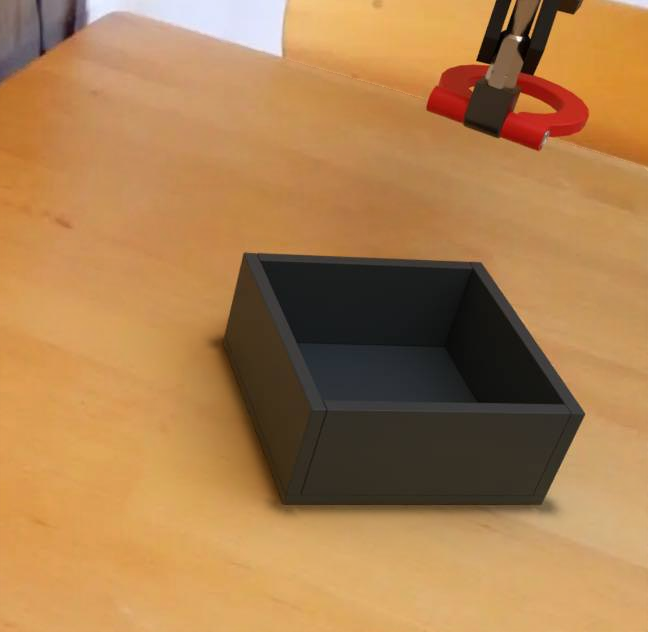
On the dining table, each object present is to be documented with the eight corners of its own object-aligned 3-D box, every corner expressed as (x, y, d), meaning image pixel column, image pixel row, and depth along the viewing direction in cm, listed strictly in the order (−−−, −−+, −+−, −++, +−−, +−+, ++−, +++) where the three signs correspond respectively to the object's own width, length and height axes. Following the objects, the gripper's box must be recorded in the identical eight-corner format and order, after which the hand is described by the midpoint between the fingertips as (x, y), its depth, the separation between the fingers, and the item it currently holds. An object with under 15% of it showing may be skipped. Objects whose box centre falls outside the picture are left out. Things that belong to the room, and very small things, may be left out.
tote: (448, 348, 78) (481, 261, 74) (542, 504, 67) (586, 413, 63) (222, 342, 75) (243, 251, 71) (283, 504, 65) (311, 409, 60)
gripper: (761, -280, 69) (630, 122, 68) (497, -334, 71) (367, 54, 70) (819, -392, 61) (673, 58, 61) (522, -448, 64) (377, -16, 63)
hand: (509, 55), depth 65 cm, fingers closed on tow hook, 2 cm apart
